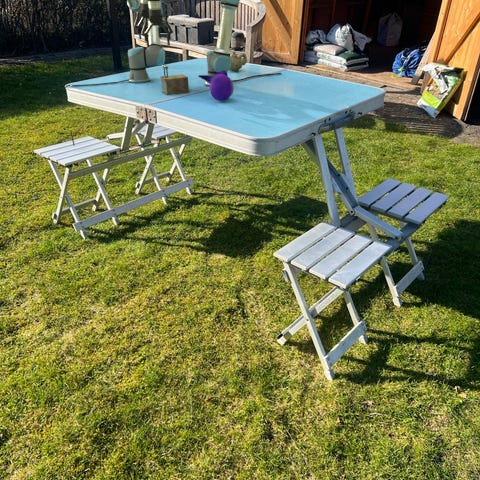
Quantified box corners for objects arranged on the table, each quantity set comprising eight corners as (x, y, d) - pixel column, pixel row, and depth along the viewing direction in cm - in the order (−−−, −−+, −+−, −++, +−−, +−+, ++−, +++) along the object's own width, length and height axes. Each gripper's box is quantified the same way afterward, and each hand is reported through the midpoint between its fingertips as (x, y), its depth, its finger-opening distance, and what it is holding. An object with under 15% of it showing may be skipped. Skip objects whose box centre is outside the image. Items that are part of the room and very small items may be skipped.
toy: (220, 92, 299) (233, 106, 278) (195, 88, 292) (206, 102, 271) (226, 68, 291) (240, 80, 270) (200, 63, 284) (212, 75, 263)
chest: (167, 94, 298) (165, 80, 293) (162, 91, 307) (161, 78, 302) (189, 92, 303) (188, 78, 299) (183, 89, 312) (182, 75, 308)
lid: (164, 81, 293) (163, 67, 289) (160, 78, 302) (158, 64, 298) (188, 78, 299) (187, 65, 295) (182, 75, 308) (181, 62, 303)
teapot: (227, 73, 359) (226, 53, 351) (220, 71, 367) (219, 51, 360) (250, 70, 368) (249, 51, 360) (242, 68, 376) (242, 49, 369)
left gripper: (128, 4, 290) (133, 40, 300) (166, 2, 298) (169, 37, 309) (126, 3, 295) (130, 38, 306) (162, 2, 304) (166, 36, 315)
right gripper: (136, 10, 269) (140, 48, 280) (175, 8, 278) (178, 45, 288) (133, 9, 275) (137, 47, 285) (172, 7, 284) (175, 44, 294)
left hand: (150, 38), depth 308 cm, fingers open, 13 cm apart
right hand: (158, 46), depth 287 cm, fingers open, 13 cm apart
